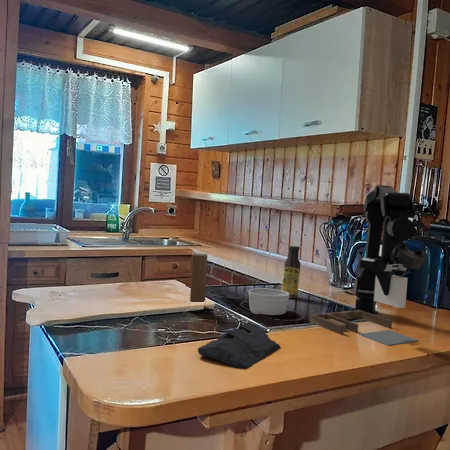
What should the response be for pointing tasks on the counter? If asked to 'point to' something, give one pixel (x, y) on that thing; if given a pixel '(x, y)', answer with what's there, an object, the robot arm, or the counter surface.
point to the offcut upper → (337, 322)
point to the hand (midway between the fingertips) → (389, 295)
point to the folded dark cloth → (240, 347)
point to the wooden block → (198, 278)
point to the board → (392, 292)
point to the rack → (342, 316)
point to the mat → (388, 337)
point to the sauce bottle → (291, 272)
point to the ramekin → (268, 301)
